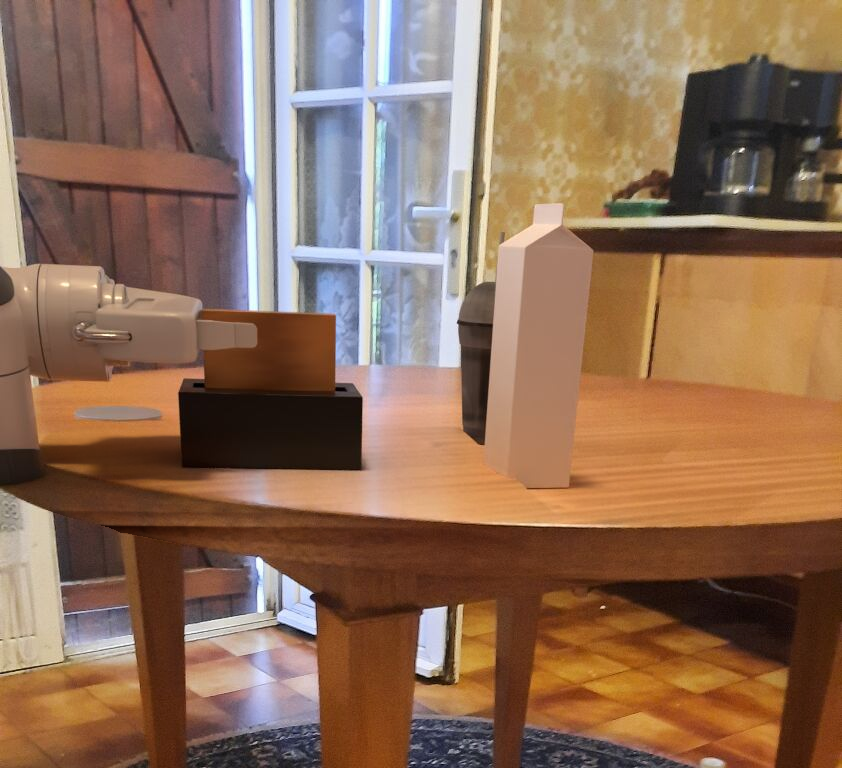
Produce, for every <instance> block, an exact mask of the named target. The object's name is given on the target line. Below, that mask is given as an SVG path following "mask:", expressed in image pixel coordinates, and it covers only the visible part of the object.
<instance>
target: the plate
mask: <svg viewBox="0 0 842 768" xmlns="http://www.w3.org/2000/svg"><path fill="white" fill-rule="evenodd" d="M163 415H164V414H163V412H162V410H159V409H156V408H151V407H144V406H132V405H129V406H128V405H100V406H99V405H98V406H88V407H81V408H78V409H76V410H74V411H73V419H79V420H89V421H99V422H141V421H142V422H143V421H164V416H163Z"/></svg>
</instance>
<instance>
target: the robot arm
mask: <svg viewBox="0 0 842 768" xmlns="http://www.w3.org/2000/svg"><path fill="white" fill-rule="evenodd" d="M202 309H203V302H202V300H201V299H199V298H197V297H192V296H188V295H182V294H177V293H170V292H163V291H157V290H151V289H143V288H136V287H130V286H126V285H125V284H124V283H115V279H112V278H110V277H109V276H108V275H106V272H105V269H104V268H103V267H102V266H100V265H99V266H98V265H79V264H55V263H54V264H52V263H34V264H33V263H32V264H30V265H27V266H23V267H22V266H21V267H7V266H1V265H0V486H9V485H17V484H22V483H27V482H31V481H34V480H38V479H40V478H42V477H43V476H45V475H46V473H47V471H46V467H45V461H44V457H43V456H44V455H43V450H42V449H40V441H39V434H38V426H37V415H36V410H35V402H34V401H35V400H34V394H33V393H34V392H33V385H32V377H36V378H38V379H42V380H46V381H63V382H65V381H66V382H97V383H98V382H100V383H101V382H105V383H108V382H110V381H111V380H112V377H113V371H114V367H120V366H121V367H130V366H131V365H132V362H134V363H136V362H137V363H151V364H154V363H155V364H172V365H173V364H175V365H176V364H177V365H178V364H179V365H180V364H184V365H185V364H191V363H195V362H196V361H197V359H198V356H199V352H200V351H203V350H219V349H228V348H254V347H256V345H257V327H256V325H255V324H253V323H244V322H234V323H232V322H221V321H212V320H202Z"/></svg>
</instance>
